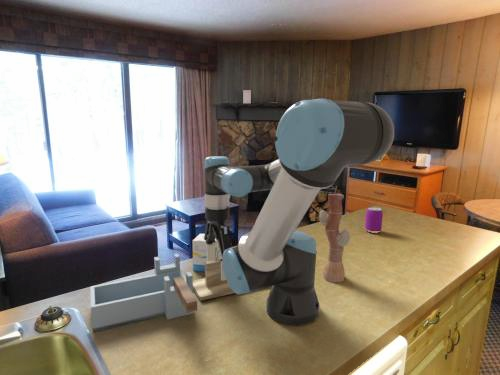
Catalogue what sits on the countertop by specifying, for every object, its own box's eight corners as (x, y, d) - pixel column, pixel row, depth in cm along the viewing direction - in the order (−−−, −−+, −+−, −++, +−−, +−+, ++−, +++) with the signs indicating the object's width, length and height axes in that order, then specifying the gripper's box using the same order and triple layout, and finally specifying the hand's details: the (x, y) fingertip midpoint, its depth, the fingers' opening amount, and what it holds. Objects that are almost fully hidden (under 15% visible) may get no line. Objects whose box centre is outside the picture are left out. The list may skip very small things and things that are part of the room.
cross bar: (197, 310, 79) (197, 300, 79) (187, 312, 78) (186, 303, 78) (182, 284, 92) (182, 276, 91) (173, 286, 90) (173, 278, 90)
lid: (274, 286, 109) (274, 257, 107) (200, 303, 99) (199, 272, 97) (258, 272, 119) (258, 246, 118) (190, 286, 109) (189, 258, 107)
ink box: (214, 273, 118) (214, 242, 116) (192, 270, 119) (191, 240, 117) (221, 263, 126) (221, 234, 124) (200, 261, 128) (199, 232, 125)
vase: (350, 279, 114) (356, 194, 108) (336, 285, 109) (342, 197, 104) (326, 268, 122) (330, 189, 116) (312, 273, 118) (316, 192, 112)
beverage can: (382, 231, 165) (384, 208, 163) (379, 235, 159) (381, 211, 156) (366, 228, 169) (368, 205, 167) (363, 232, 163) (365, 209, 160)
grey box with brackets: (194, 313, 93) (193, 275, 91) (93, 338, 82) (89, 295, 80) (179, 286, 108) (178, 253, 106) (92, 304, 97) (89, 268, 94)
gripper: (245, 215, 92) (244, 285, 96) (215, 197, 114) (215, 254, 118) (220, 218, 89) (220, 290, 93) (194, 199, 111) (195, 258, 115)
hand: (218, 270), depth 106 cm, fingers open, 13 cm apart
